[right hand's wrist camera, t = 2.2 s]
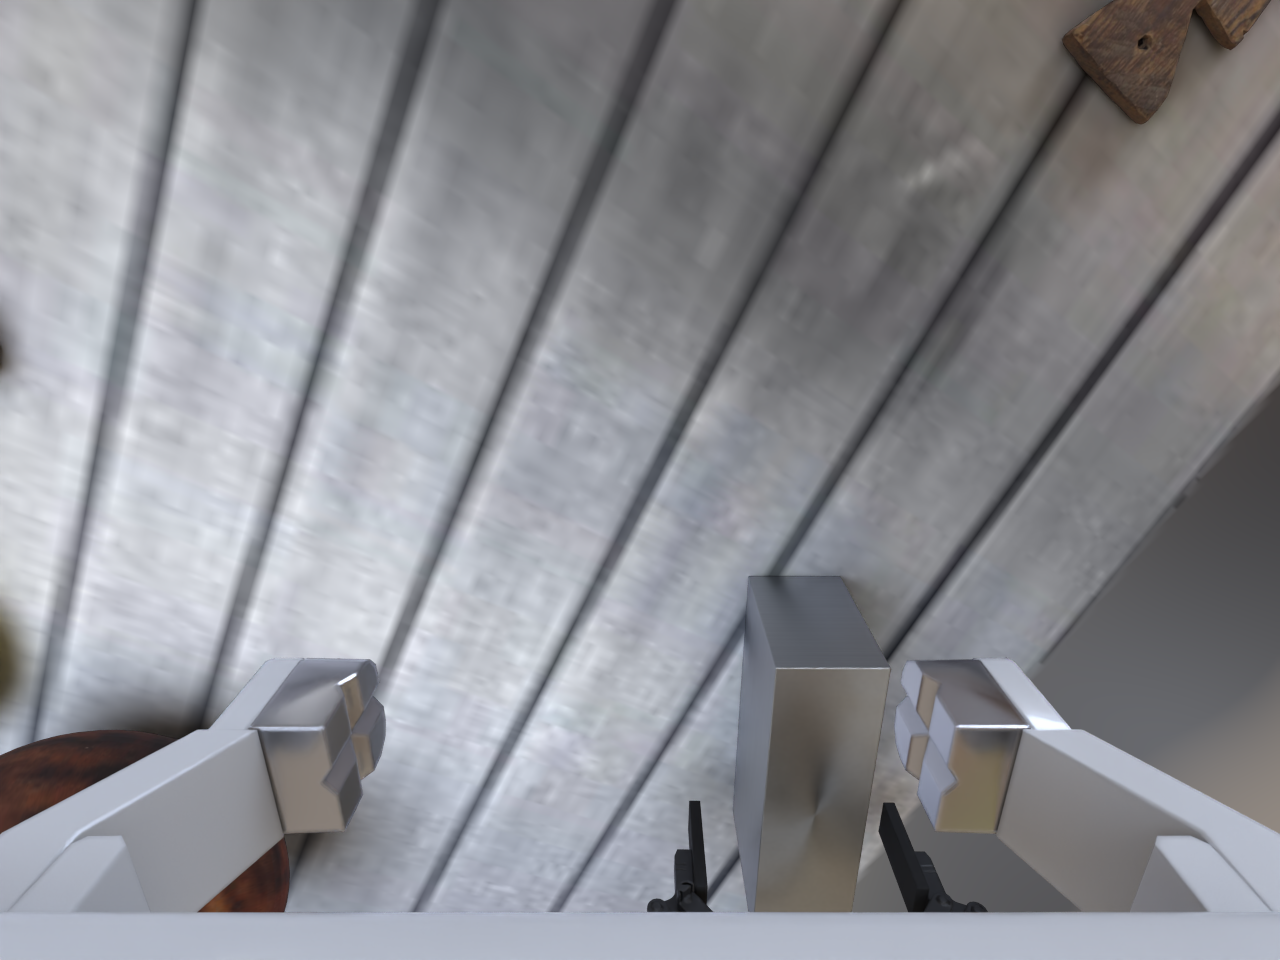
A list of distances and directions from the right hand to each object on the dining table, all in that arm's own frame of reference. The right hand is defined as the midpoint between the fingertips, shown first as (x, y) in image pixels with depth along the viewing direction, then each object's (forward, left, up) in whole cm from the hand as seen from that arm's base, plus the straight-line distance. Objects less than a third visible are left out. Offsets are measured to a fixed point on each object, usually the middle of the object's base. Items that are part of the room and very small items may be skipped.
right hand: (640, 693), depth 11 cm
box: (+26, +10, -32) cm, 43 cm away
